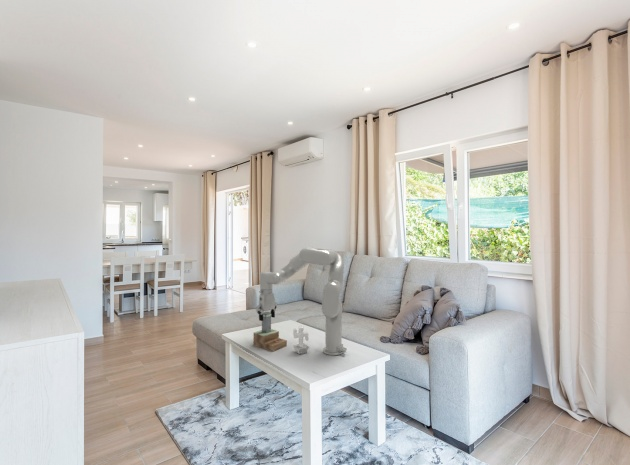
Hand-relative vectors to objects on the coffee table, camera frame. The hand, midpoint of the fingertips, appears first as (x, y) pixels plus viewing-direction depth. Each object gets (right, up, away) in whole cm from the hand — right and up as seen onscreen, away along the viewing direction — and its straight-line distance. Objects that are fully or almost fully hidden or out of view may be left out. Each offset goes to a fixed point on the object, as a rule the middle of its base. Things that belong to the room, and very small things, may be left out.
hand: (267, 318), depth 208 cm
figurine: (+22, -17, -13) cm, 30 cm away
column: (0, -8, 0) cm, 8 cm away
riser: (+2, -16, -2) cm, 16 cm away
